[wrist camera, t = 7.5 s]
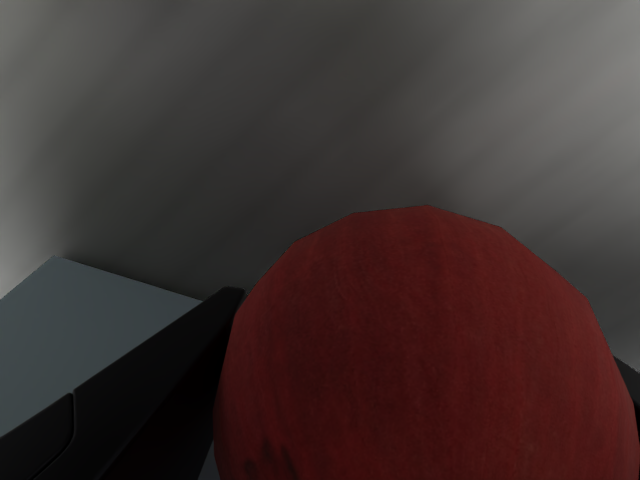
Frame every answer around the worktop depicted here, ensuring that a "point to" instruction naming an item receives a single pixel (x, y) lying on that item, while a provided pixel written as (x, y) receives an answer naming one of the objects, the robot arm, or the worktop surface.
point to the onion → (419, 362)
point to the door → (75, 334)
